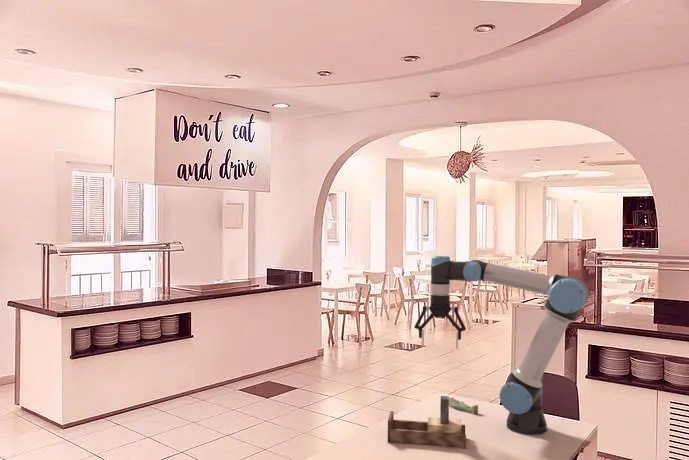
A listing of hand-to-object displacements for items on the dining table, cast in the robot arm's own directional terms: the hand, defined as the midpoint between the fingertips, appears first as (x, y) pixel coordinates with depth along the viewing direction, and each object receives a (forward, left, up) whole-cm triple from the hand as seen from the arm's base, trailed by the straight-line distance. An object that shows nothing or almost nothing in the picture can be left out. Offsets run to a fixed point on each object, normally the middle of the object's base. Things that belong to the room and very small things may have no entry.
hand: (439, 347), depth 225 cm
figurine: (-9, -20, -31) cm, 38 cm away
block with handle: (-2, +19, -30) cm, 35 cm away
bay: (+4, +19, -31) cm, 36 cm away
